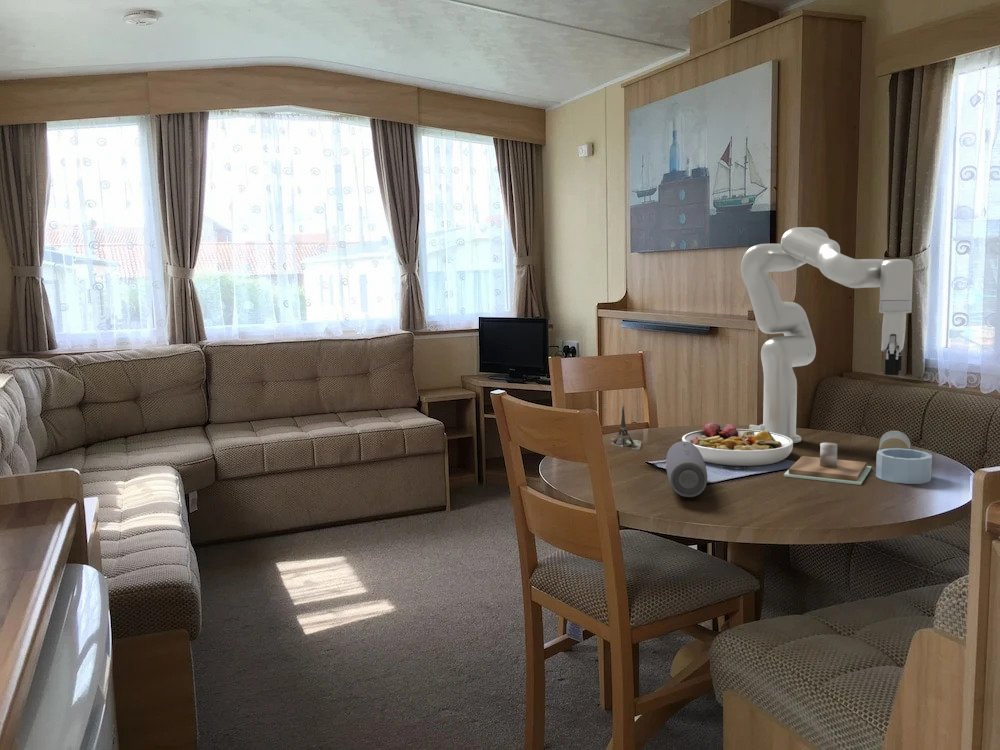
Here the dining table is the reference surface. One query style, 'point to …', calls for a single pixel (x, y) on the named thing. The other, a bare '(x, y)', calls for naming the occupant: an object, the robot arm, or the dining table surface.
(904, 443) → the ceramic mug
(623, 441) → the eiffel tower figurine
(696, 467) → the bluetooth speaker
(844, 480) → the green mat
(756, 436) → the bowl
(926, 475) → the slate bowl
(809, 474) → the walnut lid
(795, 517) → the dining table surface
